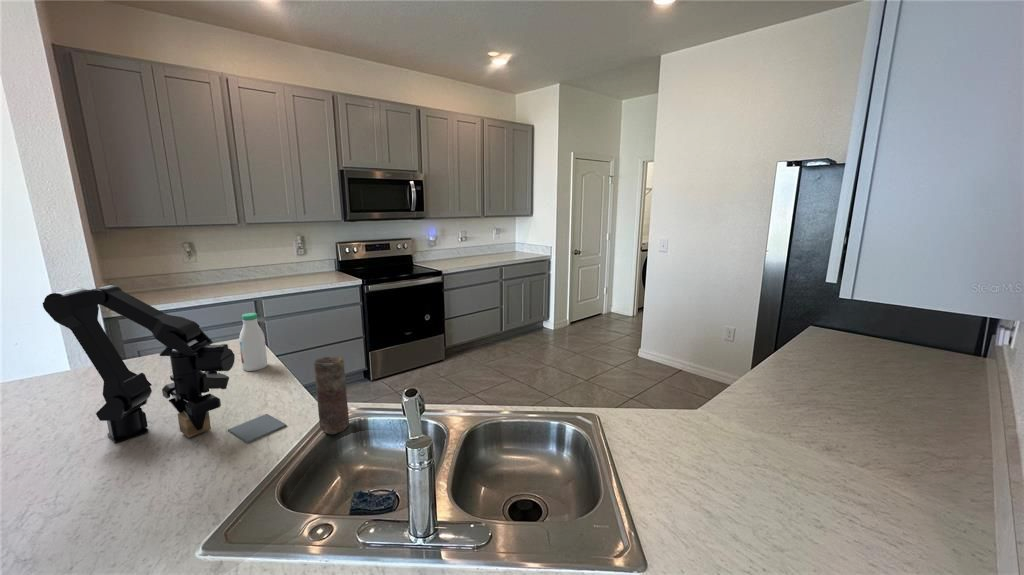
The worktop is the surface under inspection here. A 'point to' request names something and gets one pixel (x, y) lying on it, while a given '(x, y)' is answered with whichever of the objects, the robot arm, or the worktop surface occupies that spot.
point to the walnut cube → (189, 428)
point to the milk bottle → (252, 344)
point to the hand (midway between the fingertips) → (195, 426)
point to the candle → (331, 394)
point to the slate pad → (257, 428)
